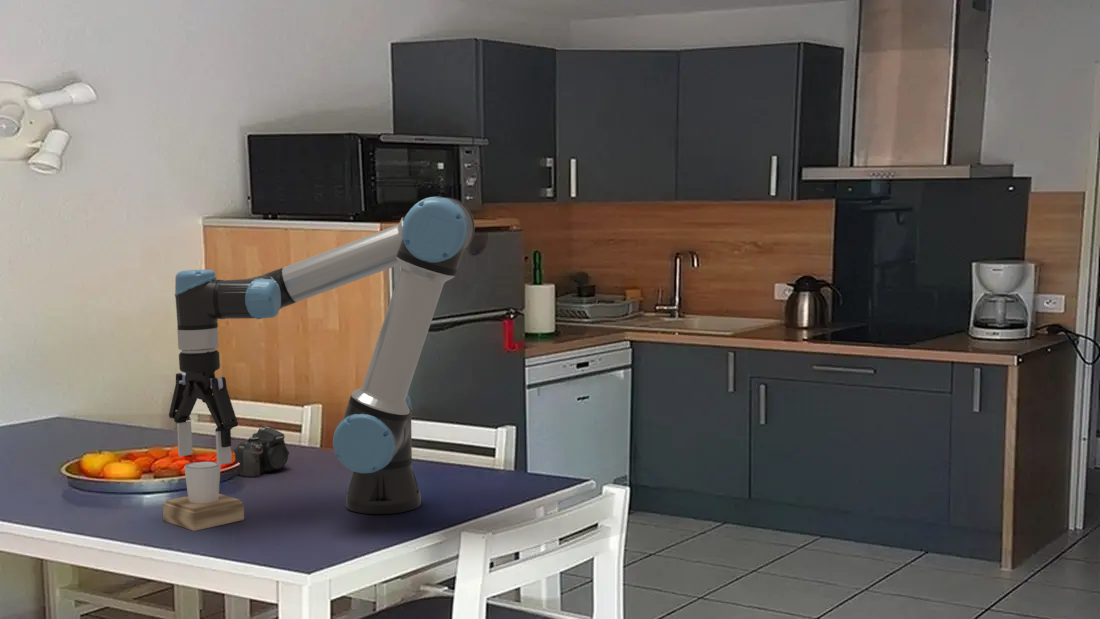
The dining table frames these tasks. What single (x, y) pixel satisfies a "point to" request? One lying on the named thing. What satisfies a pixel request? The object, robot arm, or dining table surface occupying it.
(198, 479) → the shot glass
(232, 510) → the stand
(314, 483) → the dining table surface
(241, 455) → the camera
